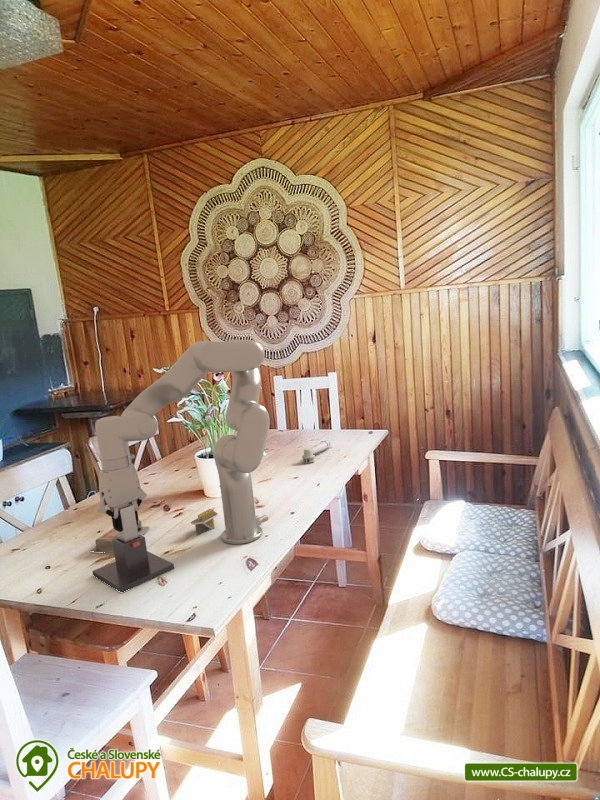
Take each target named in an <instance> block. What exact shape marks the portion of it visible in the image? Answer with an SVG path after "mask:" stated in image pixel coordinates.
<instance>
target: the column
mask: <svg viewBox="0 0 600 800" xmlns="http://www.w3.org/2000/svg"><path fill="white" fill-rule="evenodd" d="M118 516H119V517H120V518H121V524H122V531H121V532H119V531H117V535H118V541H120V542H122V543H124V544H126V543H128V542H131V541H133V540H136V539H138V538H139V536H138V530H137V523H136V517H135V510H134V505H132V504H130V503H127V504H124V505H121V506H118Z"/></svg>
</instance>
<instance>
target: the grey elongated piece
mask: <svg viewBox="0 0 600 800" xmlns="http://www.w3.org/2000/svg"><path fill="white" fill-rule="evenodd" d="M330 447H331V442H330V441H329V440H322V441H320V442H319V443H317V444H316V445H314V446H311V447H309V448H304V449H303V455H302V456H301V458H302V460H303V461H302V463H303V464H311V463H315V458H316V455H317V454H319V453H321V452H323V451H328V450H329V449H330Z"/></svg>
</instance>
